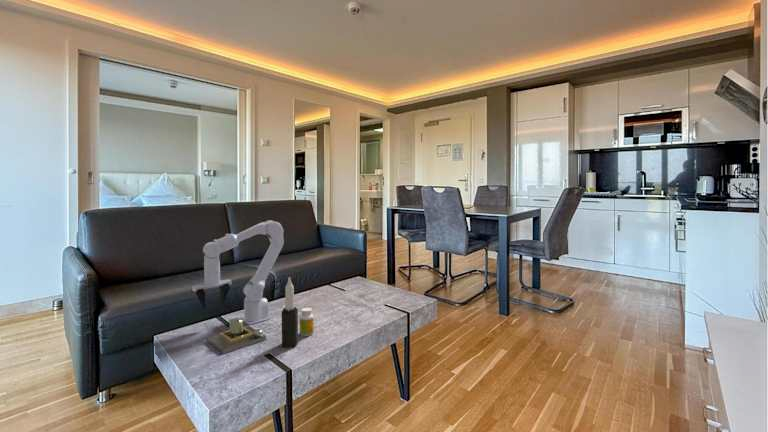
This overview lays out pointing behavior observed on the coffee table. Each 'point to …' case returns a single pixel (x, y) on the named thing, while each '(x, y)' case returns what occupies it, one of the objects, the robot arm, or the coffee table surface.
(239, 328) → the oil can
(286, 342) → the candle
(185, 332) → the coffee table surface
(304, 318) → the supplement bottle
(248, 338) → the square peg board
